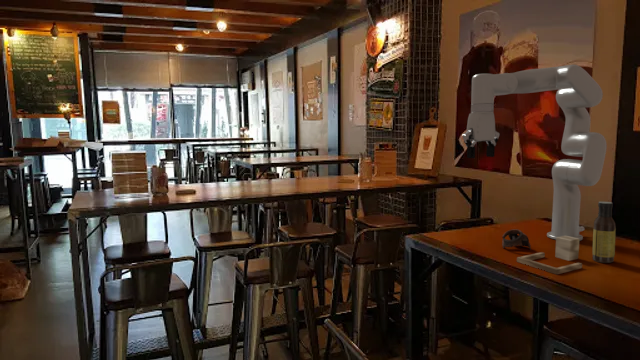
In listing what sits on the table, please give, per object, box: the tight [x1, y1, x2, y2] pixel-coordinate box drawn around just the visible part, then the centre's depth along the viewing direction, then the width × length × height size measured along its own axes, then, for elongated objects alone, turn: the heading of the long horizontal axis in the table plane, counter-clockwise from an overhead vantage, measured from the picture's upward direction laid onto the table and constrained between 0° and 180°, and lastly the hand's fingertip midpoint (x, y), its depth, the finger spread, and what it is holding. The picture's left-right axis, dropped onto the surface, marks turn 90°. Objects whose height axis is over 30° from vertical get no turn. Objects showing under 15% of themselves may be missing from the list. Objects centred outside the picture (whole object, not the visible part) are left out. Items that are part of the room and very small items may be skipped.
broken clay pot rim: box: [501, 228, 532, 251], centre depth 164 cm, size 12×10×8 cm
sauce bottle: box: [591, 201, 617, 264], centre depth 147 cm, size 6×6×20 cm
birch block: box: [554, 236, 580, 261], centre depth 151 cm, size 5×5×7 cm
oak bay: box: [516, 251, 583, 275], centre depth 144 cm, size 12×14×2 cm
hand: (480, 157), depth 159 cm, fingers open, 9 cm apart
